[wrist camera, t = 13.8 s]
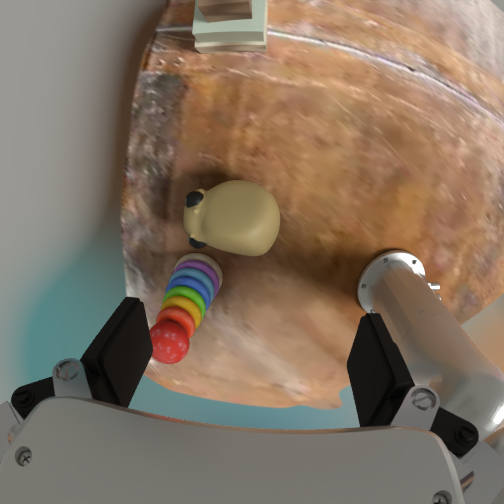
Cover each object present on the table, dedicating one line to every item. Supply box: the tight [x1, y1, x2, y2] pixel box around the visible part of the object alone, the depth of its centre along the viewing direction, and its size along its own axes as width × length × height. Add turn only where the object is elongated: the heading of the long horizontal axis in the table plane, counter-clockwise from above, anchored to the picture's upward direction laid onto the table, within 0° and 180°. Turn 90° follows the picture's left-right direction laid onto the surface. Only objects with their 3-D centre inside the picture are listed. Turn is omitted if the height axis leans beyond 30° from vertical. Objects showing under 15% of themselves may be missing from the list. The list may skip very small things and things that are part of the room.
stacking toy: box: [149, 253, 223, 364], centre depth 37 cm, size 8×8×19 cm
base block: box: [195, 0, 268, 54], centre depth 28 cm, size 9×9×4 cm
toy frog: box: [183, 180, 280, 256], centre depth 36 cm, size 10×12×11 cm
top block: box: [192, 0, 266, 43], centre depth 24 cm, size 8×8×4 cm
